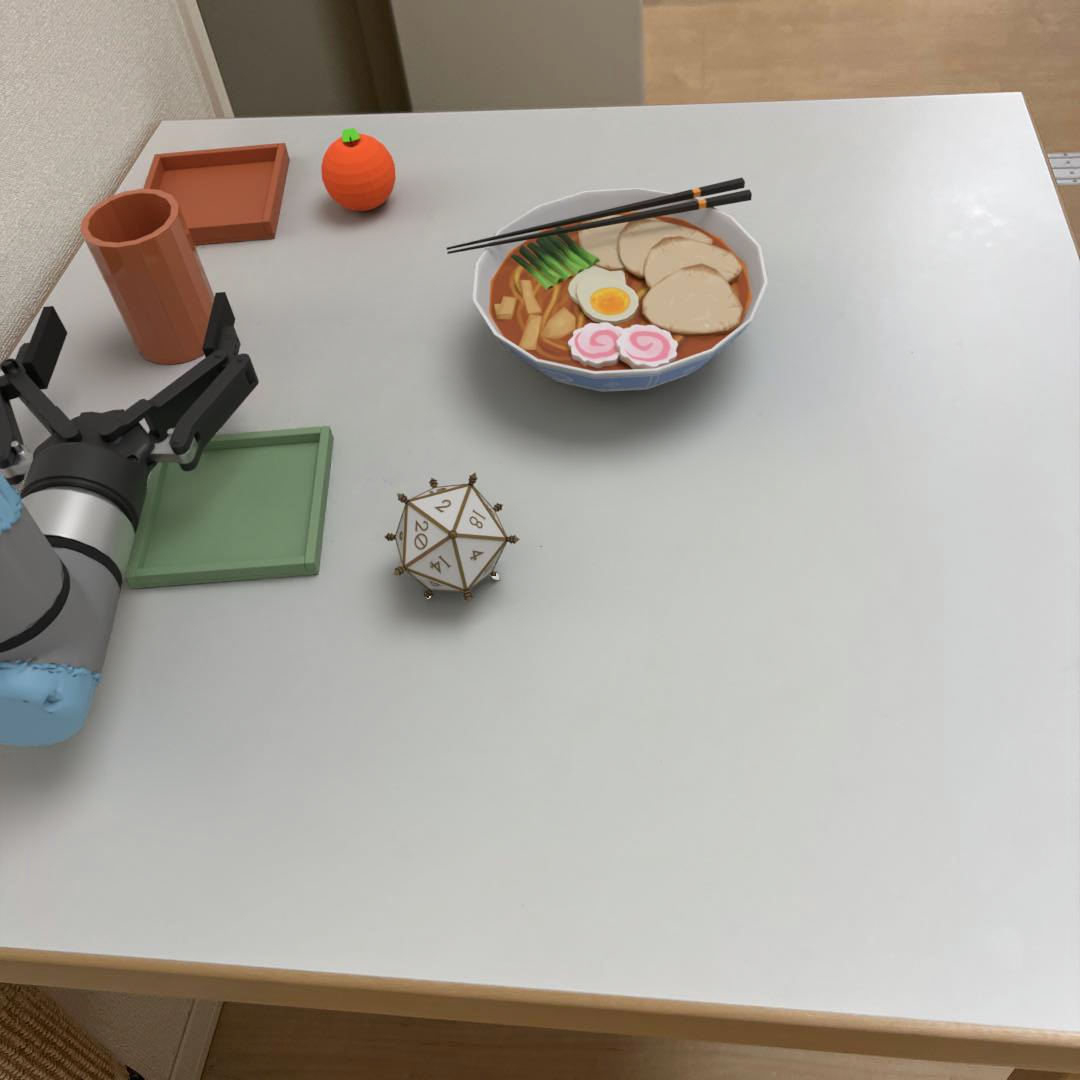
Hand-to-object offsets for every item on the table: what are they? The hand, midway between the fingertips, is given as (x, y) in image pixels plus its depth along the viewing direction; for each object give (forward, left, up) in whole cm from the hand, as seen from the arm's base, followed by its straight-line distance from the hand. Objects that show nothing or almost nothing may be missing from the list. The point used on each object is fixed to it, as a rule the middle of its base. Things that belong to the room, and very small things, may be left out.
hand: (140, 312), depth 84 cm
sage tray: (+12, -13, -7) cm, 19 cm away
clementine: (+9, +26, -7) cm, 28 cm away
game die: (+30, -16, -7) cm, 34 cm away
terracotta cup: (-1, +5, -7) cm, 9 cm away
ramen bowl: (+37, +9, -7) cm, 38 cm away
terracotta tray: (-6, +24, -7) cm, 26 cm away
